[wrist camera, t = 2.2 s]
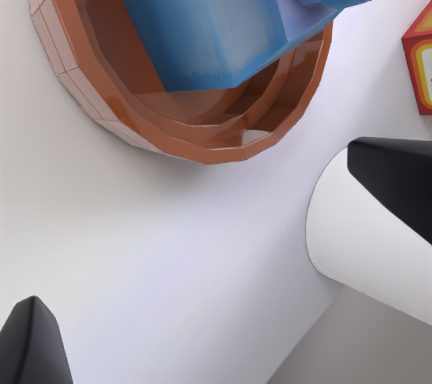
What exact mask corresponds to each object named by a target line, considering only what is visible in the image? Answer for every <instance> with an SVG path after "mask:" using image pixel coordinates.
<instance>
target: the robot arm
mask: <svg viewBox="0 0 432 384" xmlns="http://www.w3.org/2000/svg"><path fill="white" fill-rule="evenodd" d="M347 169H348V171H349V173H350V174H351V175H352V176H353V177H354V178H355V179H356V180H357V181H358V182H359V183H360V184H361V185H362V186H363V187H364V188H365V189H366V190H367V191H368V192H369V193H370V194H371V195H372V196H373V197H374V198H375V199H377V200H378V201H379V202H380V203H381V204H382V205H383V206H384V207H385V208H386V209H387V210H389V211H390V212H391V213H392V214H393V215H395V216H396V217H397V218H398V219H400V220H401V221H402V222H403V223H405V224H406V225H407V226H408V227H409V228H411V229H412V230H413V231H414V232H416V233H417V234H418V235H419V236H421V237H422V238H423V239H424V240H426V241H427V242H428V243H429V244H431V245H432V141H419V140H404V139H390V138H375V137H359V138H357V139H355V140H353V141H351V142H350V143H349V144H348V147H347ZM0 384H73V380H72V376H71V372H70V368H69V364H68V361H67V357H66V353H65V349H64V345H63V342H62V338H61V334H60V330H59V326H58V323H57V320H56V318H55V317H54V315H53V314H52V313H51V311H50V310H49V309H48V308H47V307H46V305H45V304H44V303H43V302H42V301H41V299H40V298H39V297H37V296H30V297H28V298H26V299H24V300H22V301H20V302H18V303H17V304H16V305H15V306H14V308H13V310H12V311H11V313H10V315H9V317H8V319H7V321H6V322H5V324H4V326H3V328H2V330H1V331H0Z"/></svg>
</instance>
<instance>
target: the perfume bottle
mask: <svg viewBox="0 0 432 384" xmlns="http://www.w3.org/2000/svg"><path fill="white" fill-rule="evenodd" d="M122 1H123V3H124V5H125V7H126V9H127V11H128V14H129V16H130V18H131V20H132V22H133V24H134V26H135V28H136V30H137V32H138V34H139V36H140V38H141V41H142V43H143V45H144V47H145V49H146V51H147V53H148V55H149V57H150V59H151V61H152V63H153V66H154V68H155V70H156V72H157V74H158V76H159V78H160V80H161V82H162V84H163V86H164V88H165V91H166V92H179V91H193V90H208V89H223V88H235V87H237V86H238V85H240V84H241V83H243V82H244V81H246V80H247V79H249V78H250V77H252V76H253V75H255V74H256V73H258V72H259V71H261V70H263V69H264V68H266V67H267V66H269V65H270V64H272V63H273V62H275V61H276V60H278V59H279V58H281V57H282V56H284V55H285V54H287V53H288V52H290V51H291V50H293V49H294V48H296V47H298V46H299V45H301V44H302V43H304V42H305V41H307V40H308V39H310V38H311V37H313V36H314V35H316V34H317V33H319V32H320V31H322V30H323V29H324V28H325V27H326V26H327V25H328V24H329V23H330V22H331V21H332V20H333V19H334V18H335V17H336V16H337V15H338V14H339V13H340V12H341V11H342V10H343V9H344V8H347V7H351V6H355V5H358V4H362V3H365V2H368V1H371V0H122Z"/></svg>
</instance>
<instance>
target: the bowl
mask: <svg viewBox="0 0 432 384" xmlns="http://www.w3.org/2000/svg"><path fill="white" fill-rule="evenodd" d="M29 6H30V15H31V17H32V21H33V23H34V26H35V28H36V30H37V33H38V35H39V37H40V40H41V42H42V44H43V47H44V49H45V51H46V54H47V56H48V58H49V61H50V63H51V65H52V68H53V70H54V72H55V74H56V76H57V77H58V79H59V80H60V81H61V82H62V84H63V85H64V86H65V87H66V89H67V90H68V91H69V92H70V93H71V95H72V96H73V97H74V98H75V100H76V101H77V102H78V103H79V104H80V106H81V107H82V108H83V109H84V111H85V112H86V113H87V114H88V115H89V117H90V118H92V120H94V121H95V122H97V123H98V124H100V125H101V126H103V127H104V128H106V129H107V130H109V131H110V132H112V133H113V134H115V135H116V136H118V137H119V138H121V139H122V140H124V141H125V142H127V143H128V144H130V145H132V146H135V147H139V148H142V149H146V150H150V151H153V152H157V153H161V154H164V155H168V156H172V157H176V158H180V159H184V160H188V161H193V162H197V163H201V164H205V165H211V164H220V163H229V162H238V161H244V160H247V159H249V158H251V157H253V156H255V155H257V154H258V153H260V152H262V151H264V150H266V149H268V148H270V147H272V146H274V145H275V144H276V143H278V142H279V141H280V140H281V139H282V138H283V137H284V136H285V135H286V134H287V133H288V131H289V130H290V129H291V128H292V127H293V126H294V125H295V124H296V123H297V122H298V121H299V120H300V119H301V117H302V116H303V114H304V112H305V111H306V109H307V107H308V105H309V103H310V101H311V99H312V97H313V96H314V94H315V92H316V90H317V88H318V86H319V83H320V81H321V78H322V74H323V71H324V67H325V63H326V60H327V56H328V53H329V49H330V45H331V44H330V43H331V41H332V28H333V20H332V21H331V22H330V23H329V24H328V25H327V26H326V27H325V28H324V29H323V30H322V31H320V32H319V33H317V34H316V35H314V36H313V37H311V38H310V39H308V40H307V41H305V42H304V43H302V44H301V45H299V46H298V47H296V48H294V49H293V50H291V51H290V52H288V53H287V54H285V55H284V56H282V57H281V58H279V59H278V60H276V61H275V62H273V63H272V64H270V65H269V66H267V67H266V68H264V69H263V70H261V71H259V72H258V73H256V74H255V75H253V76H252V77H250V78H249V79H247V80H246V81H244V82H243V83H241V84H240V85H238V86H237V87H235V88H223V89H208V90H193V91H179V92H166V91H165V88H164V86H163V84H162V82H161V80H160V78H159V76H158V74H157V72H156V70H155V68H154V66H153V63H152V61H151V59H150V57H149V55H148V53H147V51H146V49H145V47H144V45H143V43H142V41H141V38H140V36H139V34H138V32H137V30H136V28H135V26H134V24H133V22H132V20H131V18H130V16H129V14H128V11H127V9H126V7H125V5H124V3H123V1H122V0H29Z"/></svg>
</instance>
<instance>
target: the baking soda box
mask: <svg viewBox="0 0 432 384" xmlns="http://www.w3.org/2000/svg"><path fill="white" fill-rule="evenodd" d="M402 42H403V46H404V50H405V54H406V59H407V63H408V67H409V71H410V75H411V79H412V83H413V87H414V91H415V96H416V100H417V104H418V108H419V112H420V115H432V0H431V1H430V3H429V4H428V5H427V7H426V8H425V9H424V10H423V12H422V13H421V14H420V15H419V17H418V18H417V19H416V21H415V22H414V23H413V24H412V26H411V27H410V28H409V29H408V31H407V32H406V33H405V35H404V36H403V37H402Z"/></svg>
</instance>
